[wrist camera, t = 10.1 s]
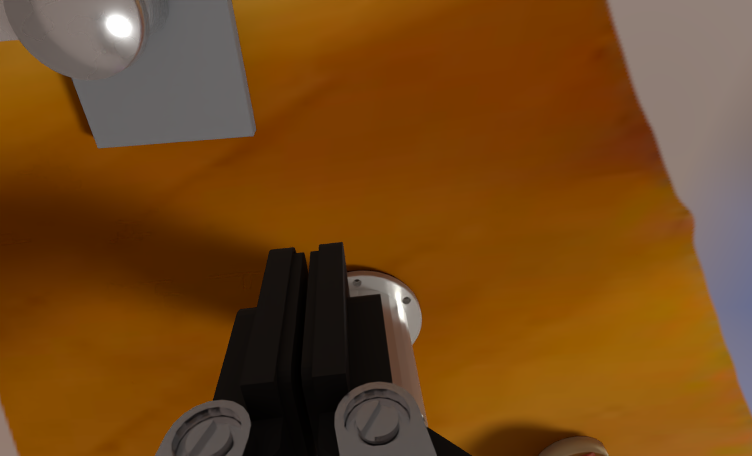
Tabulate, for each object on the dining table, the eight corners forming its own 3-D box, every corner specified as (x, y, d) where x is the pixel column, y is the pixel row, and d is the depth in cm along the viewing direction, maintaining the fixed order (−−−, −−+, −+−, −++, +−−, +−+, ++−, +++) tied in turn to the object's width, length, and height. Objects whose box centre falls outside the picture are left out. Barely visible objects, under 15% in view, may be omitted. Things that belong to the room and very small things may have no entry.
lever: (168, -59, 30) (113, -63, 22) (195, 47, 33) (155, 74, 26) (-110, -37, 29) (-259, -33, 22) (-55, 69, 33) (-169, 104, 25)
